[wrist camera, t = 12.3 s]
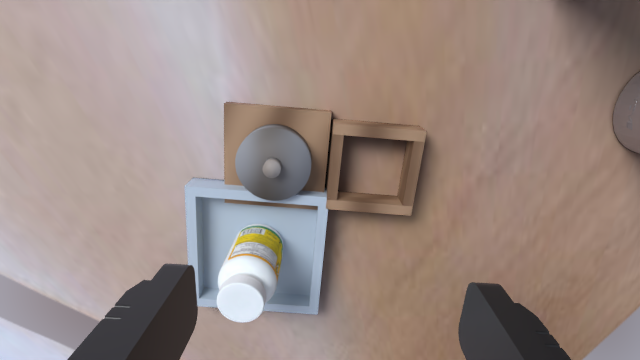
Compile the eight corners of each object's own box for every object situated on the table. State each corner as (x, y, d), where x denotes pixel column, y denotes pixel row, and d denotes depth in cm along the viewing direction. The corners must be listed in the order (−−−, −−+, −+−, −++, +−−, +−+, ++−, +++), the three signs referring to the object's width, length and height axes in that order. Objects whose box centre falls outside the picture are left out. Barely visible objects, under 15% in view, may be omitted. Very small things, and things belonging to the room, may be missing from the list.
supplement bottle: (256, 212, 37) (234, 263, 28) (294, 243, 38) (286, 301, 29) (224, 246, 39) (195, 305, 29) (263, 274, 40) (245, 339, 31)
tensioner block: (421, 118, 34) (434, 127, 30) (404, 212, 38) (414, 231, 34) (227, 101, 34) (214, 108, 30) (227, 198, 37) (215, 216, 33)
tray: (328, 188, 37) (329, 197, 35) (317, 299, 42) (317, 314, 39) (193, 177, 37) (184, 186, 34) (197, 291, 41) (190, 305, 39)
